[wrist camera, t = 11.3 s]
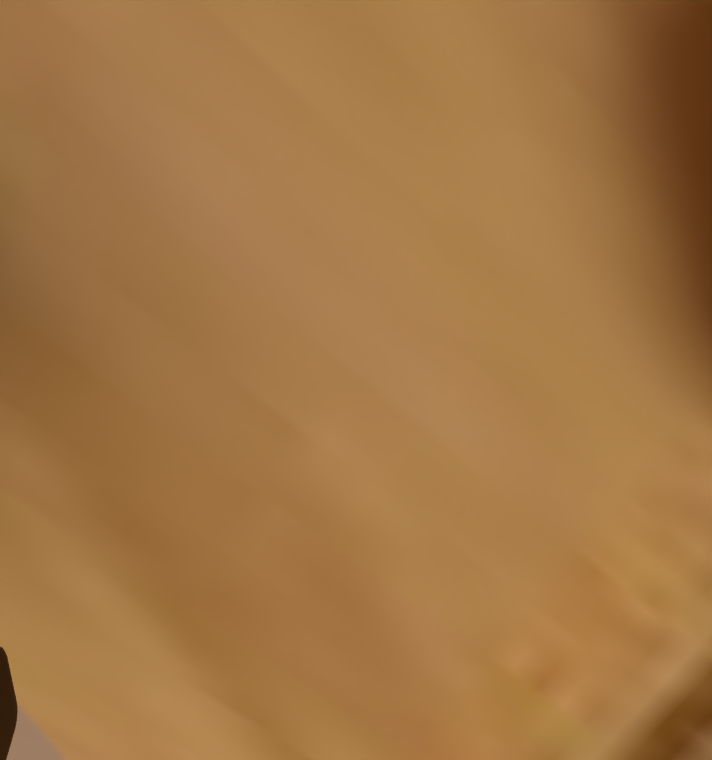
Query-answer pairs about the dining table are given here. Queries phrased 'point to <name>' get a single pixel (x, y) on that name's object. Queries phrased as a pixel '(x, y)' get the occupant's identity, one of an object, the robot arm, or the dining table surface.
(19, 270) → the dining table surface
